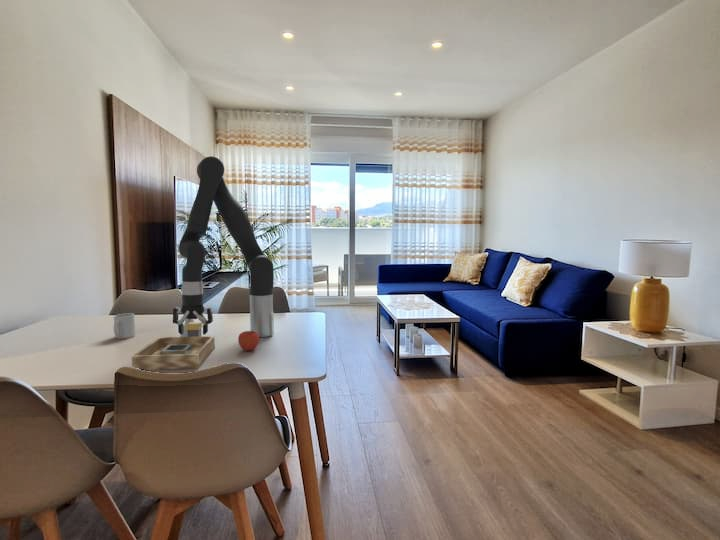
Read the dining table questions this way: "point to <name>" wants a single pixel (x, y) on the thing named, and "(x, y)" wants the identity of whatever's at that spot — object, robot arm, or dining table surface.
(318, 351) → the dining table surface
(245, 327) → the dining table surface
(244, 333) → the apple
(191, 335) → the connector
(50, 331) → the dining table surface
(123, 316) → the cup
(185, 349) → the frame
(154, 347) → the walled box
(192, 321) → the flask
